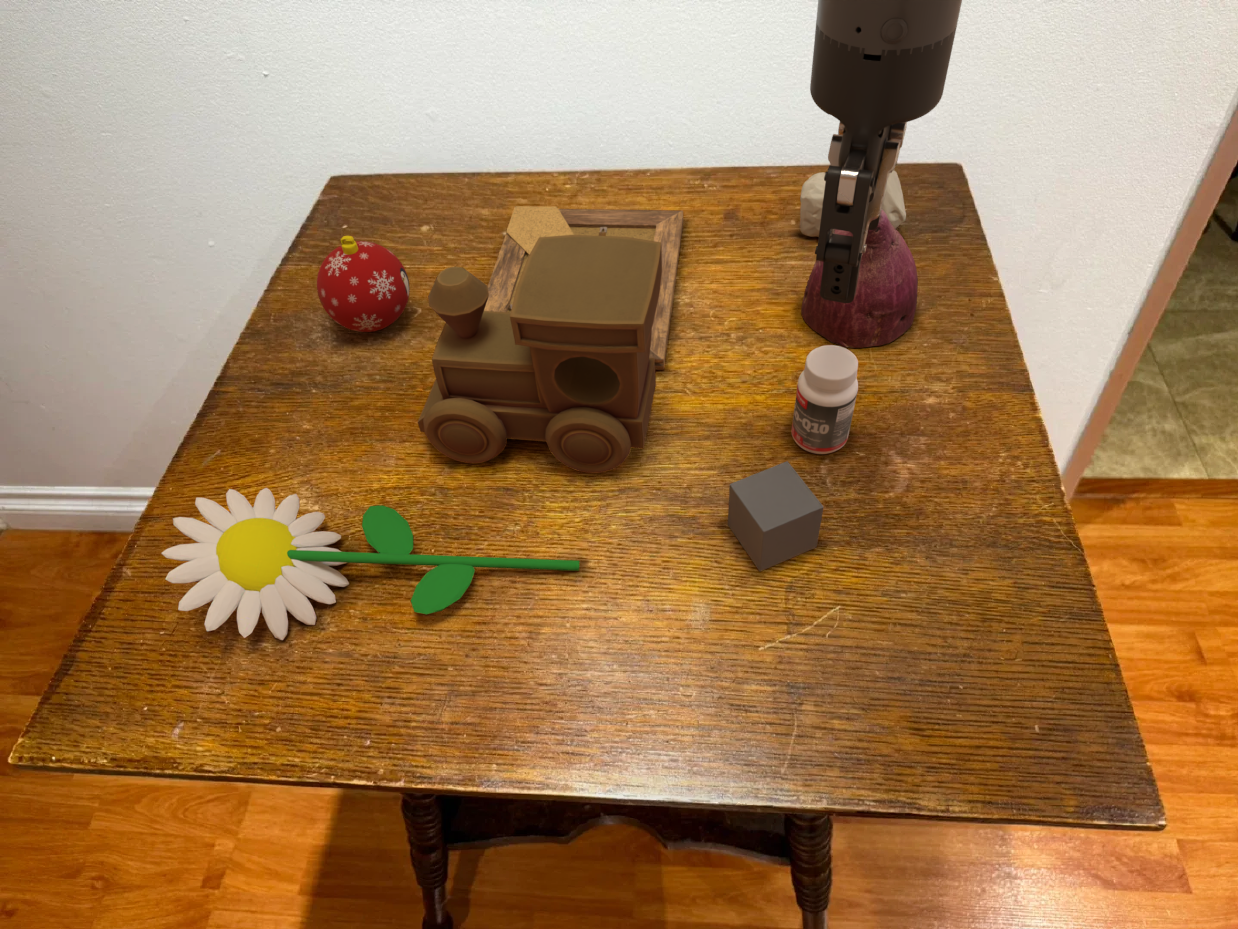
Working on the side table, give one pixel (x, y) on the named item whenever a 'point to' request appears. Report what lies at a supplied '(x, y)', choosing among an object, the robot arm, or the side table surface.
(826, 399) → the pill bottle
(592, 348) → the wooden toy train
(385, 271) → the christmas ornament
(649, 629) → the side table surface
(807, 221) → the decorative stone
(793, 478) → the grey block
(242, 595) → the decorative flower
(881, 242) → the vegetable
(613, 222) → the picture frame
